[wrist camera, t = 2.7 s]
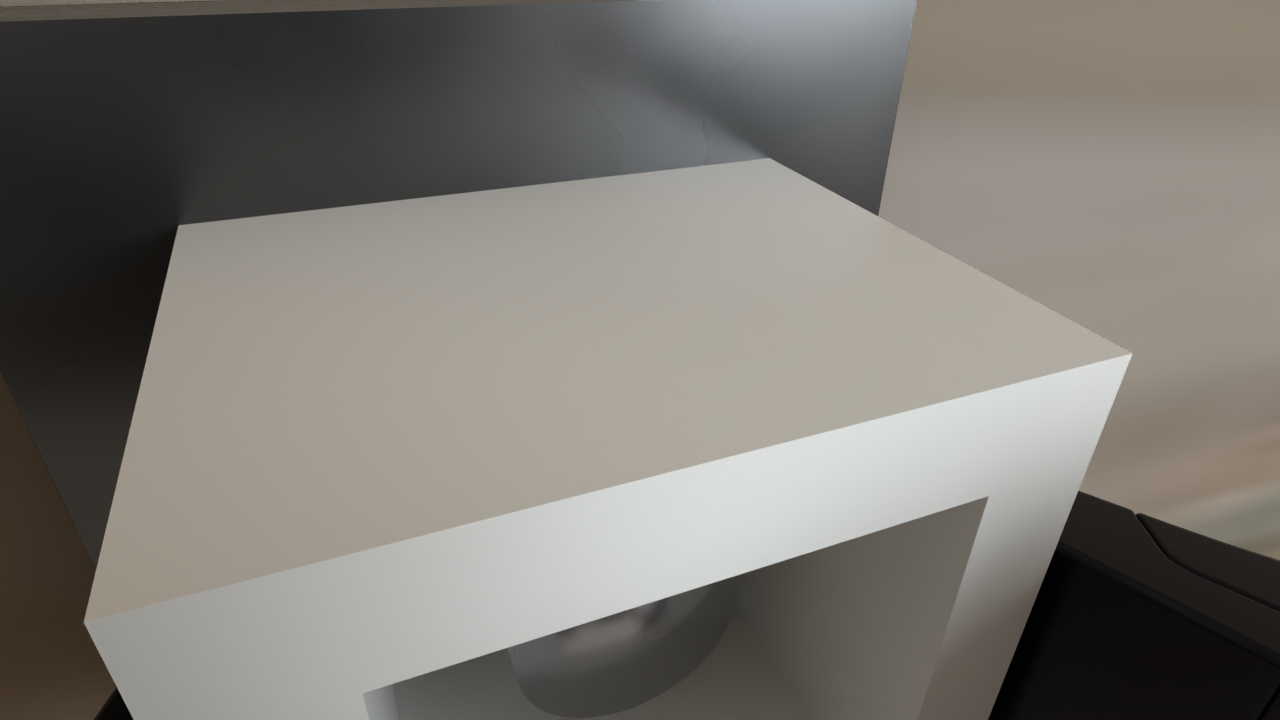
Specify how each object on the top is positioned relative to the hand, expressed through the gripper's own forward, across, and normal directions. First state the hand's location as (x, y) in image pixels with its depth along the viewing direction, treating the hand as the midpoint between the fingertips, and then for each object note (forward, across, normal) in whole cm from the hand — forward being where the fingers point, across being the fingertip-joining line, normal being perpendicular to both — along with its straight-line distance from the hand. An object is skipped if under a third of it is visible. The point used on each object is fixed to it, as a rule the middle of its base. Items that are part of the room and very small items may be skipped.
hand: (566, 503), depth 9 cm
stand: (+2, 0, 0) cm, 2 cm away
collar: (+2, 0, 0) cm, 2 cm away
